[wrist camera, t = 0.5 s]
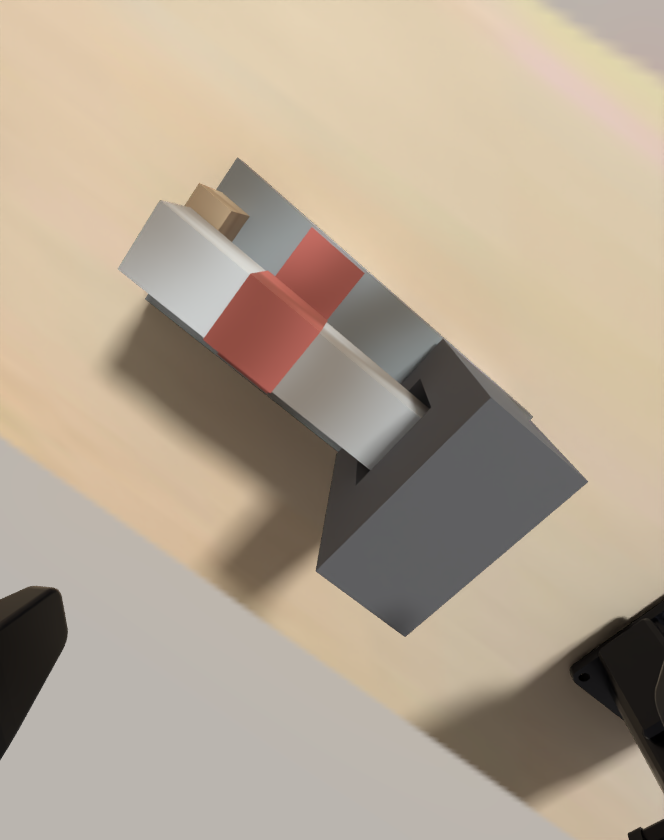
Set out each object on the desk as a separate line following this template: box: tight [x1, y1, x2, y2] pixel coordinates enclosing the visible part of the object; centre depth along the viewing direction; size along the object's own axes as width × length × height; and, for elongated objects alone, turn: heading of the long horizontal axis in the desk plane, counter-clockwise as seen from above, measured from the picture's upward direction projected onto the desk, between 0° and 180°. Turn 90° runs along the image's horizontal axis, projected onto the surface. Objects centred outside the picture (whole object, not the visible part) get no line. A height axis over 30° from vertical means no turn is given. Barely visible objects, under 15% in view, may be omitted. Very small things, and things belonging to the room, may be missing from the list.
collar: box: [316, 339, 588, 637], centre depth 15 cm, size 3×6×7 cm, turn 140°
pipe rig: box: [118, 158, 533, 470], centre depth 16 cm, size 14×6×6 cm, turn 51°
